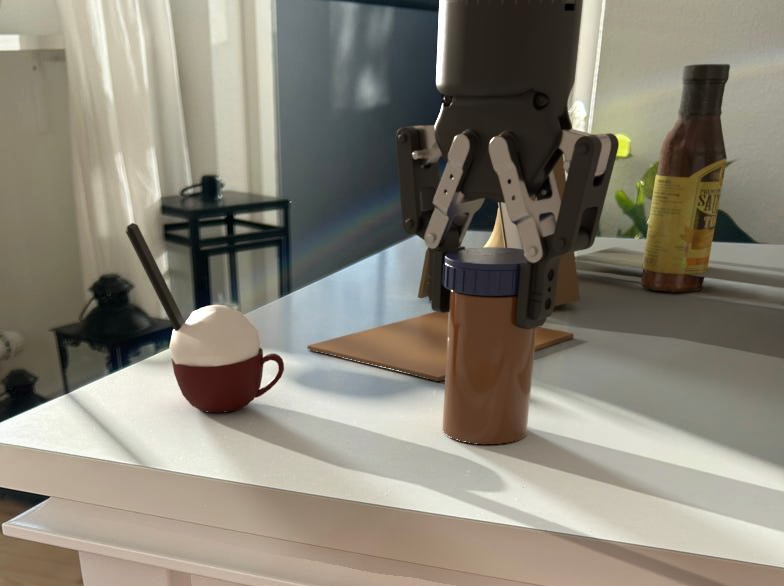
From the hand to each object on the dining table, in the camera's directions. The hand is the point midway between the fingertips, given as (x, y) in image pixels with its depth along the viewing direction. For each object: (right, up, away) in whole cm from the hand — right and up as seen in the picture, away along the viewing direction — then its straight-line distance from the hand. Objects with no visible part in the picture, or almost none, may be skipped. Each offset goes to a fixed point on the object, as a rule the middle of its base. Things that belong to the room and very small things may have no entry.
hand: (487, 317), depth 62 cm
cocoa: (-18, -3, +10) cm, 20 cm away
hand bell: (+14, +26, +59) cm, 65 cm away
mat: (0, +5, +23) cm, 24 cm away
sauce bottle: (+26, +16, +41) cm, 51 cm away
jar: (0, -6, +4) cm, 7 cm away
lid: (0, +3, -1) cm, 3 cm away
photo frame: (+8, +16, +43) cm, 47 cm away
